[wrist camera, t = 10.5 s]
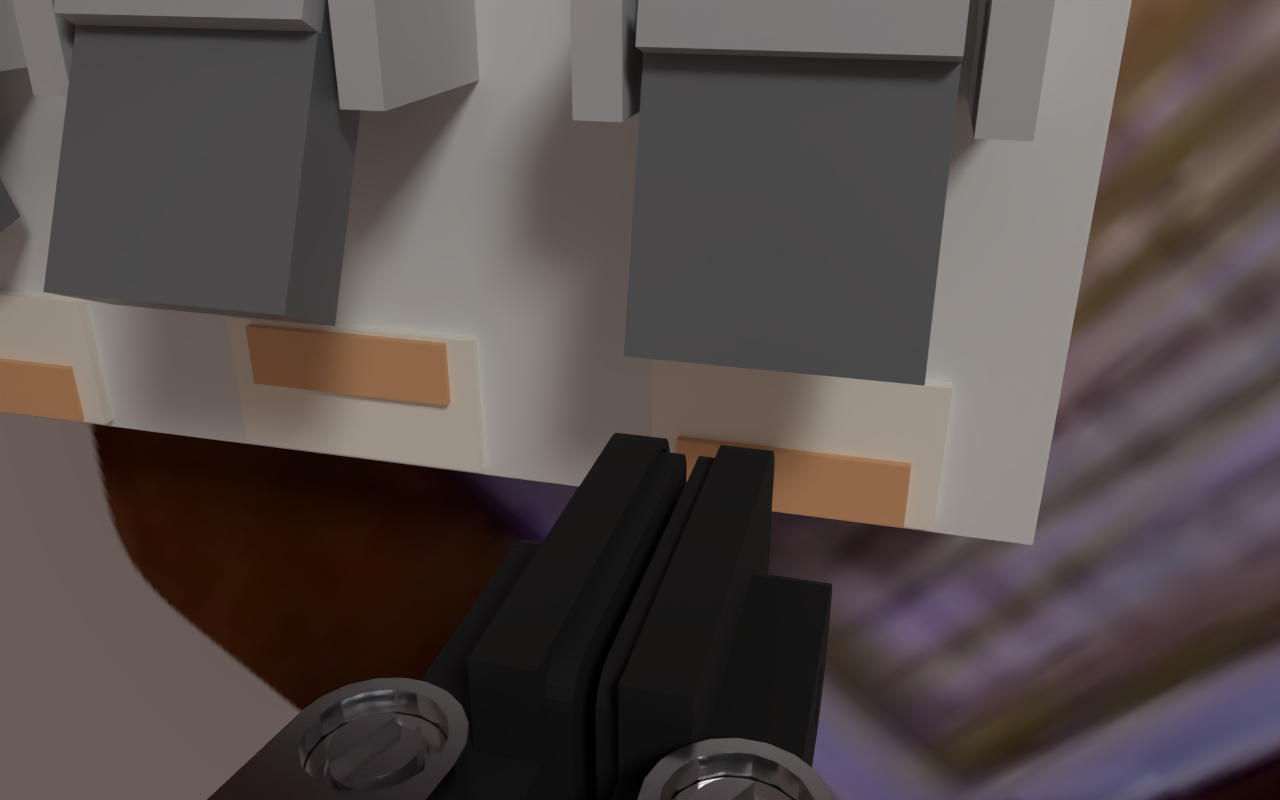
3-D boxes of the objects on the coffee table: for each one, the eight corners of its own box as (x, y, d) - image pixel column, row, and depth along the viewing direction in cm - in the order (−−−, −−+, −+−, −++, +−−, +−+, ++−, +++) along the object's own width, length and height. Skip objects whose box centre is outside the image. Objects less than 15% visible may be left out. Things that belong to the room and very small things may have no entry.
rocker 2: (691, -290, 16) (661, -363, 14) (998, -303, 15) (1013, -385, 13) (647, 346, 18) (615, 359, 16) (922, 372, 17) (925, 390, 15)
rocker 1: (175, -228, 20) (92, -306, 18) (401, -236, 19) (341, -320, 17) (110, 304, 19) (20, 287, 17) (334, 326, 18) (267, 311, 16)
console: (-244, -487, 24) (-745, -663, 17) (1205, -648, 17) (1399, -1060, 10) (-20, 342, 32) (-292, 460, 25) (1019, 458, 25) (1051, 665, 18)
